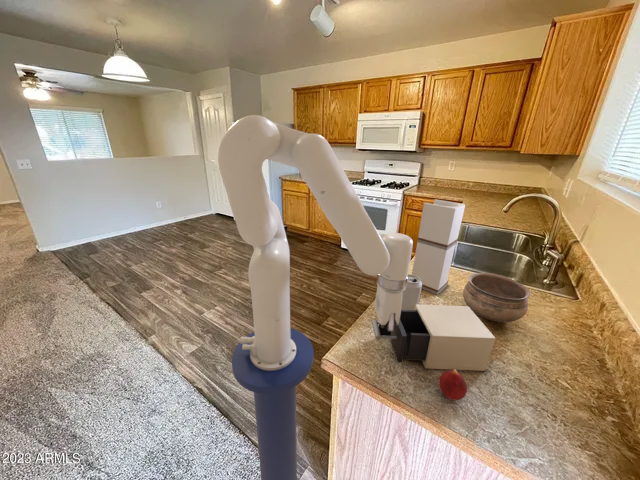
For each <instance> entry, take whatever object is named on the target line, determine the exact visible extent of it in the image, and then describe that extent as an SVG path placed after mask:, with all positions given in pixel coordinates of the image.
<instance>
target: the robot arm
mask: <svg viewBox="0 0 640 480" xmlns="http://www.w3.org/2000/svg"><path fill="white" fill-rule="evenodd" d="M217 153H218V154H217V163H218V169H219V173H220V176H221V179H222V184H223V185H224V190H225V193H226V195H227V200H228V202H229V206H230V208H231V212H232V215H233V219H234V221H235V224H236V229H237V231H238V234H239V235H240V237H241V239H242V240H243V241H244V242H245V243H246V244H248V245H250V246H252V249H253V252H252V255H251V257H250V260H249V264H248V271H247V275H248V282H249V283H248V284H249V289H250V296H251V307H252V316H253V317H252V319H253V330H254V331H253V332H254V333H255V336H253V337H246V336H241V337H240V340H239V343H240V344H243V346H242V350H251V351H250V358H251V361H252V363H253V364H254V365H255V366H256V367H257V368H259V369H262V370H266V371H274V370H279V369H282V368H284V367H286V366H288V365H289V364H290V363H291V362H292V361H293V360H294V358H295V356H296V345H295V343H294V341H293V340H292V339H291V336H290V328H291V287H290V286H291V284H290V283H291V265H290V264H291V259H290V258H291V256H290V255H291V254H290V253H291V252H290V246H289V241H288V238H287V233H286V230H285V226H284V222H283V218H282V216H281V212H280V209H279V207H278V205H277V204H276V203H275V202H274V201H273V200H272V199H271V198H270V195H269V192H268V187H267V183H266V180H265V178H264V174H263V166H264V165H263V164H264V162H266V160H269V161H272V162H275V163H278V164H282V165H285V166H289V167H292V168H296V169H297V171H298V172H299V174H300V175H301V177H302V179H303V181H304V183H305V184H306V186H307V187H308V189H309V190H310V192H311V194H312V195H313V197H314V199H315V201H316V202H317V203H318V205H319V207H320V209H321V211H322V212H323V213H324V215H325V217H326V219H327V221H328V222H329V223H330V224H331V226H332V227H333V228H334V230H335V231H336V232H337V234H338V236H339V237H340V239H341V241H342V243H343V244H344V246H345V247H346V249H347V251H348V252H349V254H350V256H351V257H352V259H353V260H354V262H355V264H356V265H357V268H358V269H359V270H360V271H361V272H362V273H363V274H365V275H368V276H371V277H372V276H377V278H376V287H377V288H376V293H375V298H374V310H375V313H376V317H377V321H379V324H378V327H379V330H380V334H381V335H384V336H391V332H393V326H394V323H395V325H396V326H397V325H398V324H399V320H400V314H401V305H402V291H404V290H405V289H406V284H407V278H408V274H409V271H410V266H411V260H412V253H413V247H414V242H413V241H414V240H413V239H412V237H410V236H409V235H407V234H403V233H400V232H388V233H382V232H379V231H378V229H377V228H376V226H375V224H374V223H373V221H372V219H371V217H370V216H369V214H368V212H367V211H366V208H365V206H364V205H363V202H362V201H361V199H360V197H359V196H358V194H357V193H356V191H355V187H353V185H352V183H351V181H350V179H349V178H348V175H347V173H346V172H345V170H344V168H343V166H342V165H341V163H340V161H339V159H338V157H337V155H336V153H335V151H334V149H333V148H332V146H331V144H330V142H328V140H327V139H326V138H325V137H324V136H322V135H321V134H318V133H309V132H305V131H301V130H298V129H295V128H292V127H289V126H286V125H282V124H280V123H277V122H274V121H271V120H270V119H269V118H268V117H265V116H262V115H259V114H250V115H246V116H243V117H240V118H239V119H238V120H236V122H235V123H233V124H232V125H230V127H229V128H228V129H227V131H226V132H225V134H224V135H223V136H222V139H221V140H220V144H219V146H218V152H217ZM246 344H251V345H246Z"/></svg>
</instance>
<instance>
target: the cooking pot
mask: <svg viewBox="0 0 640 480" xmlns="http://www.w3.org/2000/svg"><path fill="white" fill-rule="evenodd" d="M530 296H531V292H530V289H529V288H528V287H526V285H524V284H522V283H520V281H516V280H515V279H512V278H510V277H507V276H504V275H500V274H495V273H491V272H474V273H471V274H470V275H469V276H468V281H467V282H466V284H465V286H464V287H463V289H462V297H463V300H464V303H465V304H466V306H469V308H470V309H471V310H472V311H473V312H474V314H476V315H478V316H480V317H481V318H483V319H485V320H487V321H490V322H498V323H512V322H516V321H518V320H520V319H522V318H524V317H525V315H526V314H527V313H528V311H529V298H530Z"/></svg>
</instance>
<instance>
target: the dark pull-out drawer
mask: <svg viewBox="0 0 640 480" xmlns="http://www.w3.org/2000/svg"><path fill="white" fill-rule="evenodd" d="M371 326H372V329H373V333H374V337H375V340H376V341H381V340H382V339H383V340H384V339H386V340H390V342H391V346H392V349H393V352H394V355H395V358H396V362H397V363H398V364H402V363H403V361H404V356H405V358H406V360H407V361H422V360H424V361H425V360H426V355H427V351H428V346H429V342H430V337H431V336H430V334H429V332H428V330H427V328H426V326H425V324H424V322H423V321H422V319H421V317H420V315H419V313H418V311H417V310H401V314H400V320H399V324H398V325H397V326H396V325H395V323H394V326H393V332H391V336H384V335H381V334H380V330H379V320H378V319H375V318H374V319H372V320H371Z"/></svg>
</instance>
